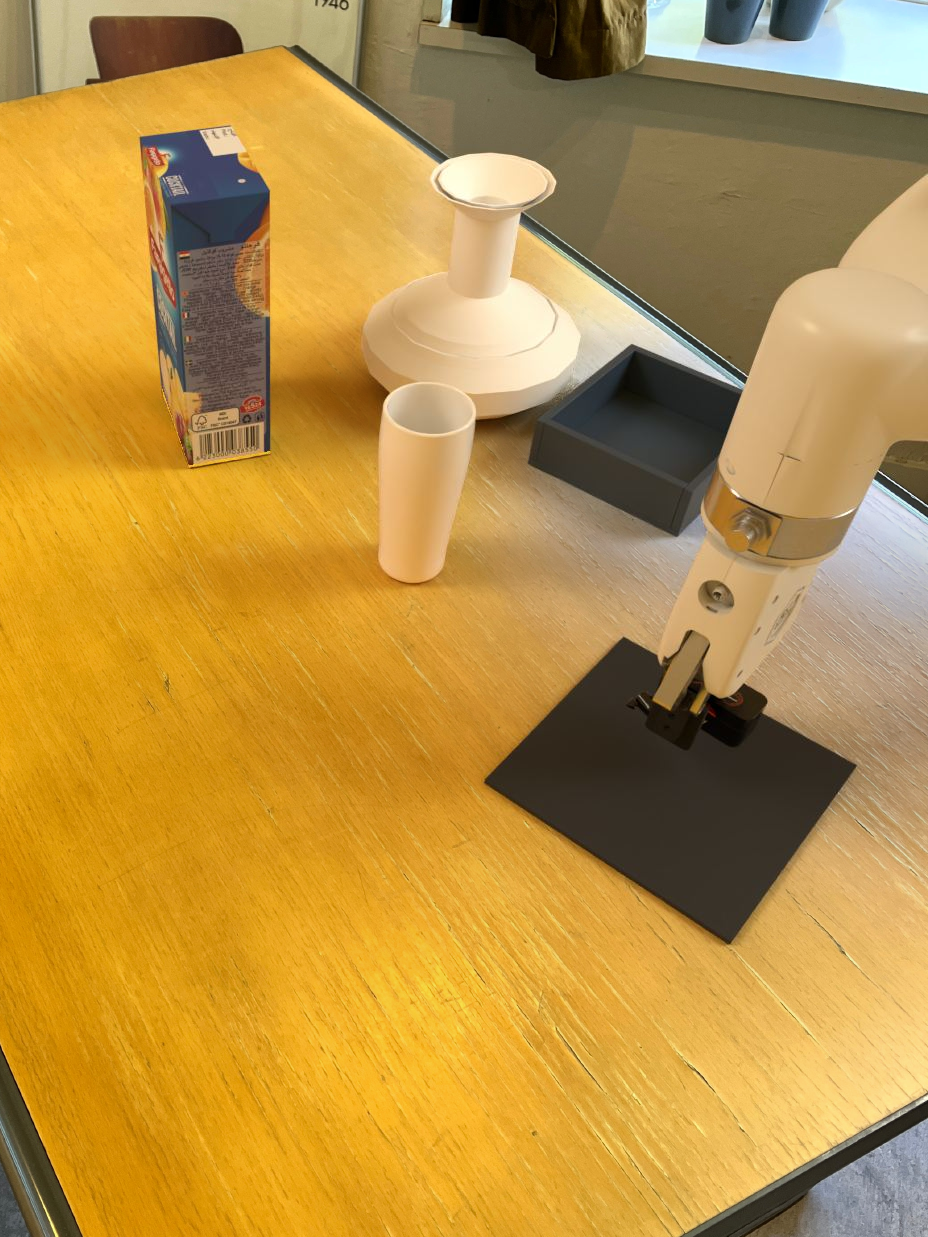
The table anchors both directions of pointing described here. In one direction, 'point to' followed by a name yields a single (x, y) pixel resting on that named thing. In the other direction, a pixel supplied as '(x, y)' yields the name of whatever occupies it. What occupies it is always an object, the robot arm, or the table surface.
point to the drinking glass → (421, 476)
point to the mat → (671, 794)
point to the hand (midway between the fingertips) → (688, 712)
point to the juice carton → (210, 289)
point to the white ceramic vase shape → (478, 300)
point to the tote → (639, 436)
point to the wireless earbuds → (720, 711)
